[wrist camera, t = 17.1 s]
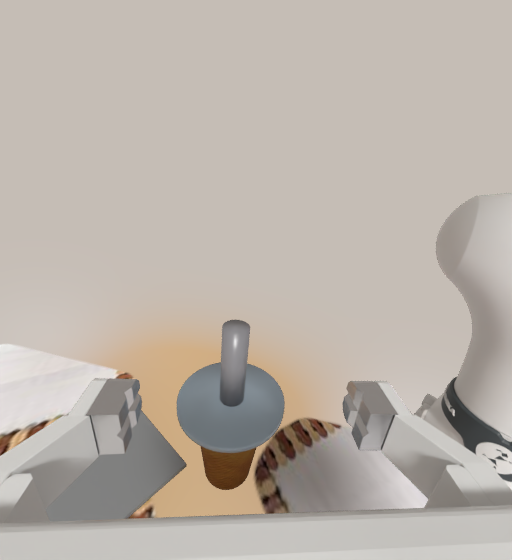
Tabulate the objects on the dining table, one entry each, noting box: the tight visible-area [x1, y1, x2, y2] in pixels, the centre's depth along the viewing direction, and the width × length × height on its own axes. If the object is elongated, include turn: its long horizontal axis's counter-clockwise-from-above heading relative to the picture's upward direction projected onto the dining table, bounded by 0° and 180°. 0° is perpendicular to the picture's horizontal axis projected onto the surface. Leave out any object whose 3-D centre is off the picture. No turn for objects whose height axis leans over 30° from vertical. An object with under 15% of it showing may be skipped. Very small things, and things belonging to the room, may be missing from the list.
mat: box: [45, 411, 186, 522], centre depth 36 cm, size 16×16×1 cm
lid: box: [177, 320, 284, 453], centre depth 31 cm, size 13×13×11 cm
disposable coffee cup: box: [201, 446, 256, 490], centre depth 35 cm, size 10×10×12 cm
